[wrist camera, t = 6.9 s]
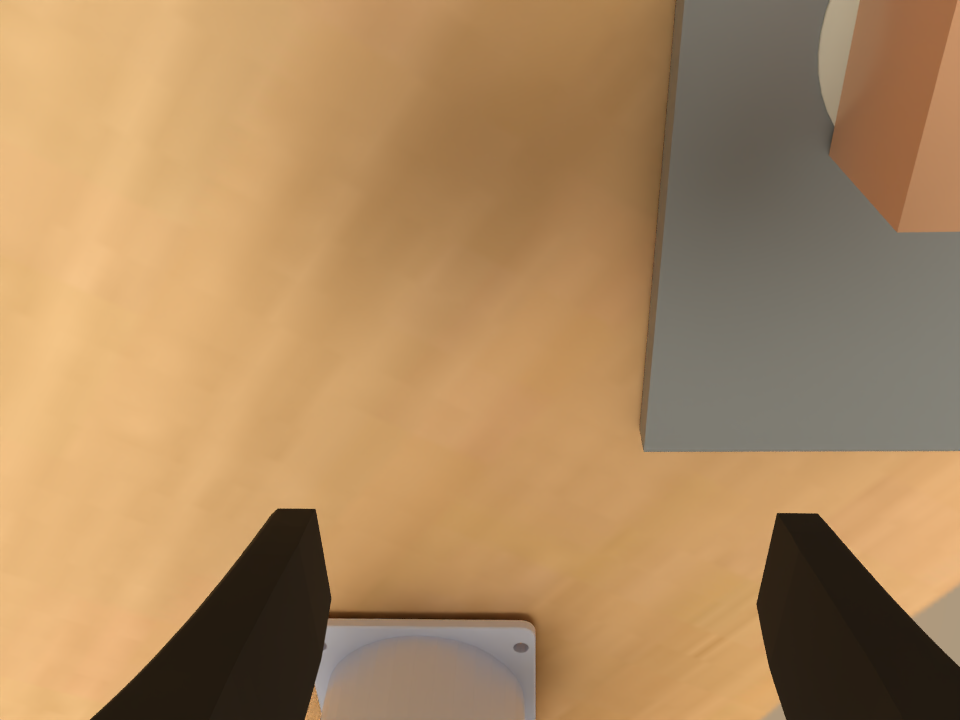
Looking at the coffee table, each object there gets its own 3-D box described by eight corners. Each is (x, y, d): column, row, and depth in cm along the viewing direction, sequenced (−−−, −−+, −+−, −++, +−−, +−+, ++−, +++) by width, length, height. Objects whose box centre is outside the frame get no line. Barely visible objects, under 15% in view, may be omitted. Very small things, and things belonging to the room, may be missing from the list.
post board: (998, 428, 24) (1101, 561, 19) (639, 429, 24) (664, 559, 20) (1226, -169, 16) (1479, -160, 12) (688, -147, 16) (745, -131, 12)
